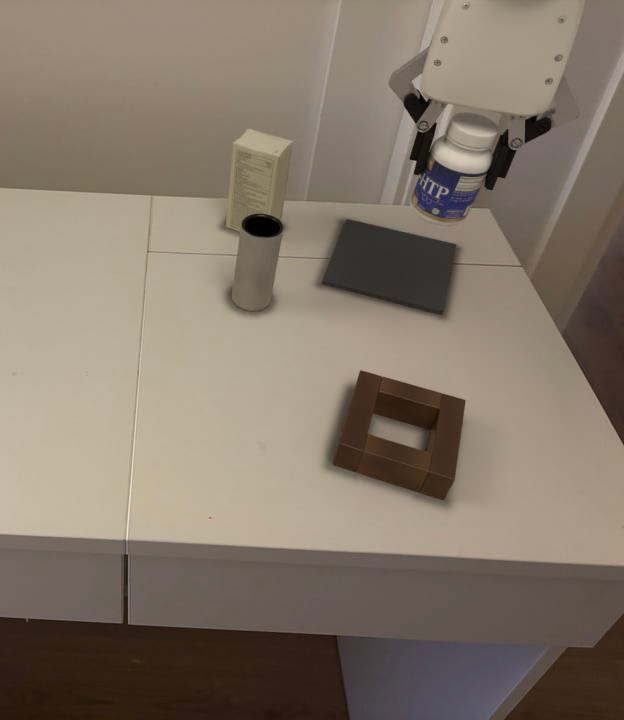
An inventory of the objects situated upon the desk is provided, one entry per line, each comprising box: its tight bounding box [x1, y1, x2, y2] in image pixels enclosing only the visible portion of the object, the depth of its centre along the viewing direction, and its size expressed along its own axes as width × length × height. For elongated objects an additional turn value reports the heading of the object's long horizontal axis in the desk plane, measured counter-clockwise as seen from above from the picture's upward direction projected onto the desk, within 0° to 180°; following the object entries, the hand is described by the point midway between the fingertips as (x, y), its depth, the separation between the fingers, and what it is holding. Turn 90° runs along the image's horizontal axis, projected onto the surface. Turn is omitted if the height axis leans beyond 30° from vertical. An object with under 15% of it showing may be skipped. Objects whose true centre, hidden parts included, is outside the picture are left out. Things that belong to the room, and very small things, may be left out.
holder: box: [332, 370, 467, 501], centre depth 71 cm, size 10×10×3 cm
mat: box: [321, 218, 457, 316], centre depth 92 cm, size 14×14×1 cm
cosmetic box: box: [225, 128, 294, 233], centre depth 93 cm, size 6×4×12 cm
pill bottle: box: [409, 111, 500, 227], centre depth 66 cm, size 5×5×9 cm
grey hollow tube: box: [231, 214, 285, 312], centre depth 83 cm, size 4×4×10 cm
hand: (454, 173), depth 66 cm, fingers closed on pill bottle, 5 cm apart
